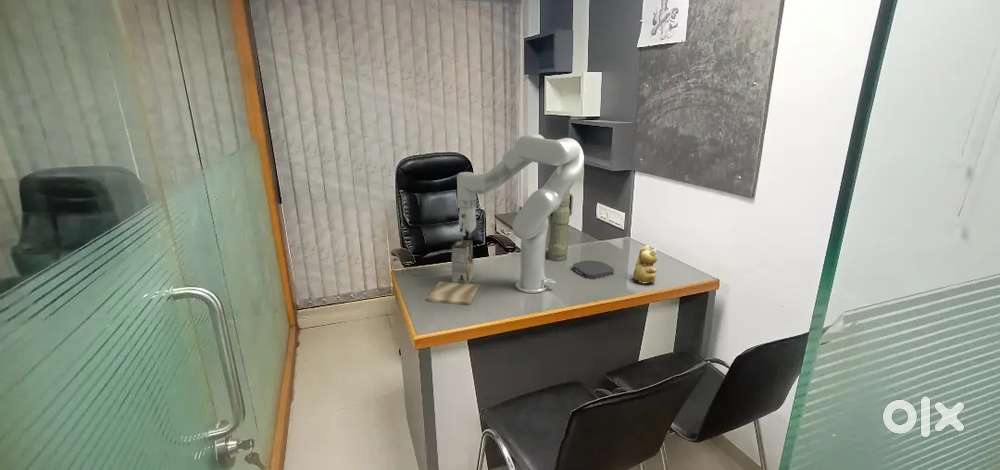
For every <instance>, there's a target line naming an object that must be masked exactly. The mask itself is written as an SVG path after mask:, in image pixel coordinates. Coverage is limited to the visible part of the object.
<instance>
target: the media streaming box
mask: <svg viewBox="0 0 1000 470" xmlns="http://www.w3.org/2000/svg"><path fill="white" fill-rule="evenodd" d="M573 270H574V271H573ZM572 271H573V272H575V273H576V272H577V273H576V274H578V275H579V276H581V275H582V277H583V276H584V277H583V278H585V277H586V278H585V279H588V278H589V280H597V279H596V278H598V279H602V278H601V277H604V278H606V277H605V276H609V275H612V276H614V275H615V274H614V272H615V270H614V267H612V266H611V265H609V264H607V263H605V262H604V261H603V262H602V261H598V260H589V259H588V260H582V261H579V262H575V263H573V265H572ZM609 277H610V276H609Z"/></svg>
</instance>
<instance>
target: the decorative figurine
mask: <svg viewBox="0 0 1000 470" xmlns="http://www.w3.org/2000/svg"><path fill="white" fill-rule="evenodd" d="M657 252H658V250H657V248H654V249H651V250H650V246H649V245H647V244H646V245H645V246H643V247H641V248H640V251H639V254H638V257H637V260H636V263H635V268H634V270H633V278H634V280H635V281H637V280H638V281H641V282H652V283H655V281H656V278H657V274H656V272H657V271H658V269H657V268H656V267H654V264H655V263H657V261H658V255H657ZM638 281H637V282H638Z"/></svg>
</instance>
